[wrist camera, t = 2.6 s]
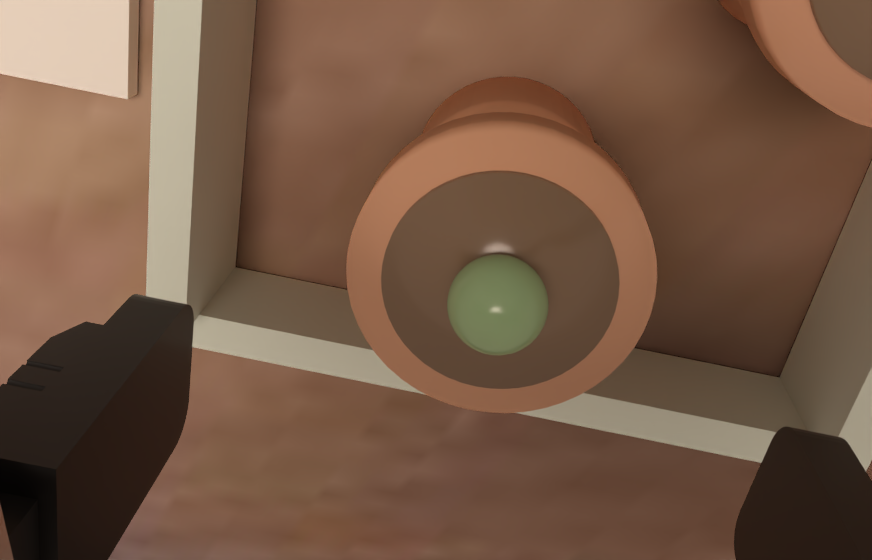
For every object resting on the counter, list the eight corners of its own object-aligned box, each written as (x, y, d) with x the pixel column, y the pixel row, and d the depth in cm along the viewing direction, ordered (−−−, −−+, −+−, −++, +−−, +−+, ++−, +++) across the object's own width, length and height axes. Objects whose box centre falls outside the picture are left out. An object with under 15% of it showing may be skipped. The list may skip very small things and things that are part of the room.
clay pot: (644, 81, 21) (722, 203, 13) (585, 285, 23) (618, 496, 15) (416, 35, 21) (349, 127, 13) (382, 244, 23) (308, 432, 15)
